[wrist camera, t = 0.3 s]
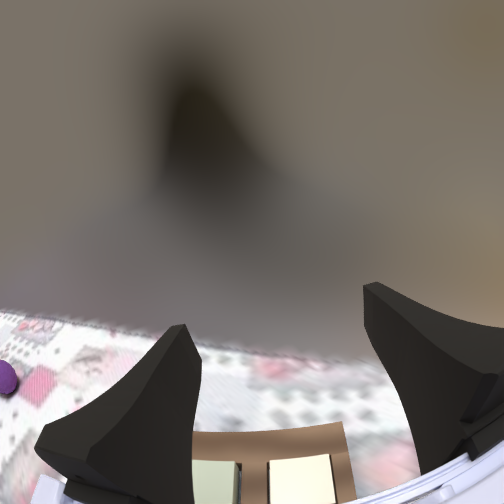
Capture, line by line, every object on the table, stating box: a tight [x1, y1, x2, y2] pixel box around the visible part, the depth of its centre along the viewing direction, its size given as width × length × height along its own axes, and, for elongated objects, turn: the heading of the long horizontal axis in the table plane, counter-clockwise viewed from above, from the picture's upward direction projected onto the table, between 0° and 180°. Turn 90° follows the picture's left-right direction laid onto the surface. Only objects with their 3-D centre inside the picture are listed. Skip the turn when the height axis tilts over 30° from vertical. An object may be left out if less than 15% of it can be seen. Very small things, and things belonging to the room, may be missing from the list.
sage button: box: [192, 460, 239, 504], centre depth 17 cm, size 5×5×2 cm
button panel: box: [192, 421, 357, 504], centre depth 18 cm, size 13×25×2 cm, turn 89°
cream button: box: [270, 454, 336, 504], centre depth 17 cm, size 5×5×2 cm
